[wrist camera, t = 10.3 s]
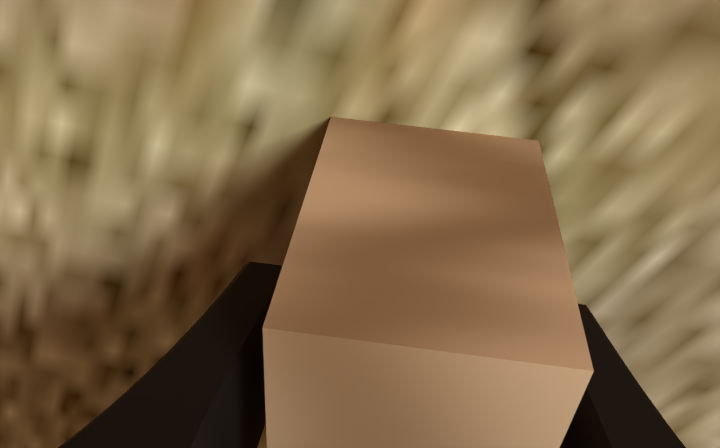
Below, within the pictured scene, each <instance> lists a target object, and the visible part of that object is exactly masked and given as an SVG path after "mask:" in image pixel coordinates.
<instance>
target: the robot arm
mask: <svg viewBox="0 0 720 448" xmlns="http://www.w3.org/2000/svg"><path fill="white" fill-rule="evenodd" d="M281 269H282V266H279V265H271V264H264V263H256V262H249V263H248V264H246V265H245V266H244V267H243V268H242V269H241V270H240V272H239V273H238V274H237V276H236V277H235V278H234V279H233V281H232V282H231V283H230V284H229V285H228V287H227V288H226V289H225V290H224V291H223V293H222V294H221V295H220V296H219V297H218V299H217V300H216V301H215V302H214V303H213V304H212V305H211V307H210V308H209V309H208V310H207V311H206V312H205V313H204V315H203V316H202V317H201V318H200V319H199V320H198V321H197V322H196V323H195V324H194V325H193V326H192V327H191V328H190V330H189V331H188V332H187V333H186V334H185V335H184V336H183V337H182V338H181V339H180V340H179V341H178V342H177V343H176V344H175V346H174V347H173V348H172V349H171V350H170V351H169V352H168V353H167V354H166V355H165V356H164V357H162V358H161V359H160V360H159V361H158V362H157V363H156V364H155V365H154V366H153V367H152V368H151V369H150V370H149V371H148V372H147V373H146V374H145V375H144V376H143V377H142V378H141V379H139V380H138V381H137V382H136V383H135V384H134V385H133V386H132V387H131V388H130V389H129V390H128V391H127V392H125V393H124V394H123V395H122V396H121V397H120V398H119V399H118V400H116V401H115V402H114V403H113V404H112V405H111V406H110V407H108V408H107V409H106V410H105V411H104V412H103V413H101V414H100V415H99V416H98V417H96V418H95V419H94V420H93V421H92V422H90V423H89V424H88V425H87V426H85V427H84V428H83V429H82V430H81V431H79V432H78V433H77V434H76V435H74V436H73V437H72V438H70V439H69V440H68V441H66V442H65V443H64V444H62V445H61V446H60V447H59V448H257V446H258V443H259V440H260V437H261V434H262V432H263V429H264V426H265V423H266V410H265V383H264V355H263V325H264V321H265V318H266V315H267V312H268V309H269V306H270V303H271V300H272V297H273V294H274V291H275V288H276V285H277V281H278V278H279V275H280V272H281ZM578 307H579V311H580V316H581V320H582V324H583V328H584V332H585V336H586V341H587V345H588V349H589V353H590V357H591V361H592V366H593V370H594V372H593V374H592V376H591V379H590V381H589V383H588V385H587V388H586V390H585V392H584V394H583V397H582V399H581V401H580V403H579V406H578V408H577V410H576V412H575V414H574V417H573V419H572V421H571V423H570V426H569V428H568V430H567V432H566V435H565V437H564V439H563V441H562V444H561V446H560V448H686V447H685V446H684V445H683V444H682V442H681V441H680V440H679V438H678V437H677V436H676V434H675V433H674V432H673V430H672V429H671V428H670V427H669V425H668V424H667V423H666V421H665V420H664V418H663V417H662V416H661V414H660V413H659V411H658V410H657V409H656V407H655V406H654V405H653V403H652V402H651V400H650V399H649V398H648V396H647V395H646V394H645V392H644V391H643V389H642V388H641V387H640V385H639V384H638V382H637V381H636V379H635V378H634V376H633V375H632V374H631V372H630V371H629V369H628V368H627V366H626V365H625V363H624V362H623V360H622V359H621V357H620V356H619V354H618V353H617V351H616V350H615V348H614V347H613V345H612V344H611V342H610V341H609V339H608V338H607V336H606V334H605V333H604V331H603V330H602V328H601V327H600V325H599V324H598V322H597V321H596V319H595V318H594V316H593V315H592V313H591V312H590V310H589V309H588V308H587V306H586V305H582V304H578Z"/></svg>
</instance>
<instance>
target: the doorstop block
mask: <svg viewBox="0 0 720 448" xmlns="http://www.w3.org/2000/svg"><path fill="white" fill-rule="evenodd" d="M263 355H264V383H265V410H266V437H267V448H560V446H561V444H562V441H563V439H564V437H565V435H566V432H567V430H568V428H569V426H570V423H571V421H572V419H573V417H574V414H575V412H576V410H577V408H578V406H579V403H580V401H581V399H582V397H583V394H584V392H585V390H586V388H587V385H588V383H589V381H590V379H591V376H592V374H593V372H594V370H593V366H592V361H591V357H590V353H589V349H588V345H587V341H586V336H585V332H584V328H583V324H582V320H581V316H580V311H579V307H578V303H577V299H576V295H575V291H574V286H573V282H572V278H571V274H570V270H569V266H568V261H567V257H566V253H565V249H564V245H563V241H562V236H561V232H560V228H559V224H558V220H557V216H556V211H555V207H554V203H553V199H552V195H551V191H550V186H549V182H548V178H547V174H546V170H545V166H544V161H543V157H542V153H541V149H540V145H539V141H537V140H529V139H520V138H511V137H502V136H494V135H485V134H476V133H467V132H459V131H450V130H441V129H432V128H424V127H415V126H406V125H397V124H389V123H380V122H371V121H362V120H354V119H345V118H336V117H331V118H330V121H329V124H328V128H327V131H326V134H325V137H324V140H323V143H322V146H321V149H320V152H319V155H318V158H317V161H316V164H315V168H314V171H313V174H312V177H311V180H310V183H309V186H308V189H307V192H306V195H305V198H304V201H303V204H302V208H301V211H300V214H299V217H298V220H297V223H296V226H295V229H294V232H293V235H292V238H291V241H290V245H289V248H288V251H287V254H286V257H285V260H284V263H283V266H282V269H281V272H280V275H279V278H278V281H277V285H276V288H275V291H274V294H273V297H272V300H271V303H270V306H269V309H268V312H267V315H266V318H265V321H264V325H263Z"/></svg>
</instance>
